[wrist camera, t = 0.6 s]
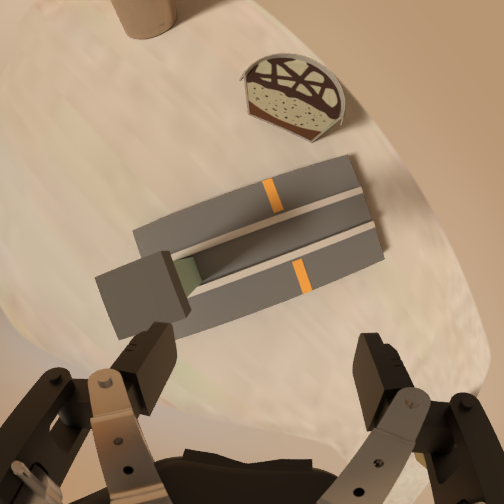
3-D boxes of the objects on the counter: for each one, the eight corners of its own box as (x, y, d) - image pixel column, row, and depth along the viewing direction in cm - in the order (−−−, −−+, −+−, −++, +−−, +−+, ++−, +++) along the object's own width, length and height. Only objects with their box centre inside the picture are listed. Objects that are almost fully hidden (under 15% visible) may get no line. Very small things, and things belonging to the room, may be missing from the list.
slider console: (140, 231, 36) (128, 230, 32) (339, 161, 37) (351, 152, 33) (178, 333, 36) (171, 343, 32) (374, 258, 38) (389, 259, 33)
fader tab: (155, 264, 33) (94, 277, 17) (195, 249, 33) (160, 250, 17) (169, 299, 33) (119, 340, 17) (208, 285, 33) (186, 318, 17)
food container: (335, 113, 37) (362, 79, 27) (321, 147, 37) (347, 118, 27) (256, 78, 36) (262, 36, 26) (238, 110, 36) (239, 71, 26)
